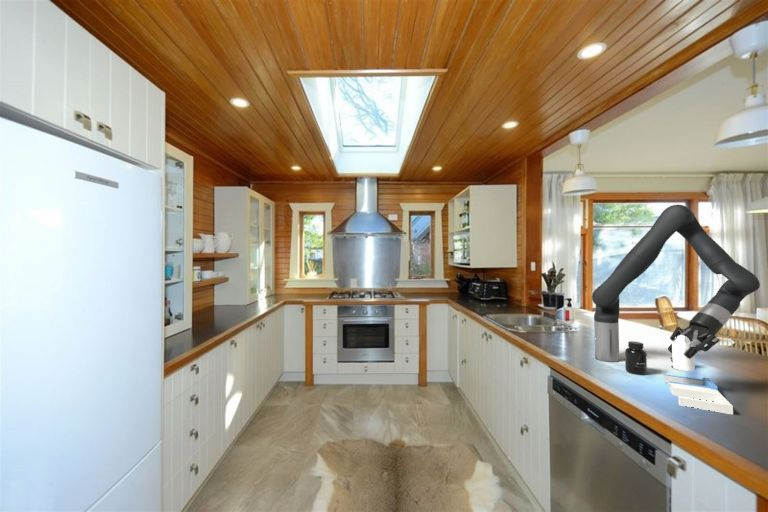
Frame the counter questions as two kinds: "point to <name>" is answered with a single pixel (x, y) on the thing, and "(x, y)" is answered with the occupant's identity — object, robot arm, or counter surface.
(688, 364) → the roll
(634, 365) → the supplement bottle
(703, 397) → the white rail frame
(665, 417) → the counter surface
